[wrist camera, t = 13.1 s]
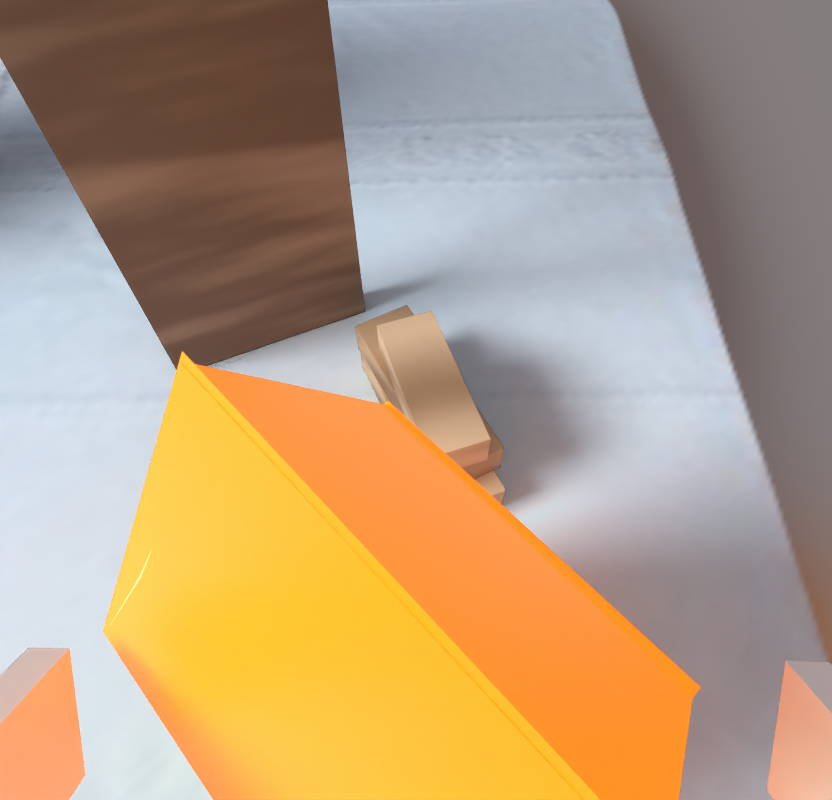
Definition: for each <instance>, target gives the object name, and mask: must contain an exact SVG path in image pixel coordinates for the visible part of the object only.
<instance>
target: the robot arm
mask: <svg viewBox="0 0 832 800" xmlns="http://www.w3.org/2000/svg"><path fill="white" fill-rule="evenodd" d="M84 776H85V769H84V761H83V753H82V745H81V737H80V729H79V721H78V713H77V705H76V697H75V690H74V682H73V674H72V666H71V658H70V650H69V648H28V649H27V650H26V651H25V652H24V653H23V654H22V655H21V656H20V657H19V658H18V659H17V660H15V661H14V662H13V663H12V664H11V665H10V666H9V667H8V668H7V669H6V670H5V671H4V672H3V673H2V674H1V675H0V800H69V799H70V797H71V796H72V794H73V793H74V791H75V790H76V788H77V786H78V785H79V783H80V782H81V780H82V779H83V777H84ZM767 790H768V792H769V793H770V795H771V797H772V798H773V800H832V665H831V664H830V663H829V662H826V661H785V668H784V675H783V682H782V689H781V695H780V702H779V709H778V716H777V723H776V730H775V736H774V743H773V750H772V757H771V764H770V771H769V777H768V784H767Z"/></svg>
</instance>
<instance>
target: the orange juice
mask: <svg viewBox="0 0 832 800" xmlns="http://www.w3.org/2000/svg"><path fill="white" fill-rule="evenodd" d="M103 632H104V634H105V635H106V637H107V638H108V640H109V641H110V643H111V644H112V646H113V647H114V649H115V650H116V652H117V653H118V655H119V656H120V658H121V660H122V661H123V663H124V664H125V666H126V667H127V669H128V670H129V672H130V673H131V675H132V676H133V678H134V679H135V681H136V682H137V684H138V685H139V687H140V688H141V690H142V692H143V693H144V695H145V696H146V698H147V699H148V701H149V702H150V704H151V705H152V707H153V708H154V710H155V711H156V713H157V714H158V716H159V717H160V719H161V721H162V722H163V724H164V725H165V727H166V728H167V730H168V731H169V733H170V734H171V736H172V737H173V739H174V740H175V742H176V743H177V745H178V746H179V748H180V750H181V751H182V753H183V754H184V756H185V757H186V759H187V760H188V762H189V763H190V765H191V766H192V768H193V769H194V771H195V772H196V774H197V775H198V777H199V779H200V780H201V782H202V783H203V785H204V786H205V788H206V789H207V791H208V792H209V794H210V795H211V797H212V798H213V800H679V792H680V785H681V778H682V771H683V764H684V756H685V749H686V742H687V735H688V728H689V720H690V713H691V706H692V699H693V697H694V695H695V694H696V693H697V691H698V690H699V689H700V688H701V687H700V686H699V685H698V684H697V683H696V682H695V681H694V680H692V679H691V678H690V677H689V676H688V675H687V674H686V673H685V672H684V671H683V670H682V669H680V668H679V667H678V666H677V665H676V664H675V663H674V662H673V661H672V660H671V659H669V658H668V657H667V656H666V655H665V654H664V653H663V652H662V651H661V650H660V649H659V648H657V647H656V646H655V645H654V644H653V643H652V642H651V641H650V640H649V639H648V638H647V637H645V636H644V635H643V634H642V633H641V632H640V631H639V630H638V629H637V628H636V627H635V626H633V625H632V624H631V623H630V622H629V621H628V620H627V619H626V618H625V617H624V616H623V615H621V614H620V613H619V612H618V611H617V610H616V609H615V608H614V607H613V606H612V605H611V604H609V603H608V602H607V601H606V600H605V599H604V598H603V597H602V596H601V595H600V594H599V593H597V592H596V591H595V590H594V589H593V588H592V587H591V586H590V585H589V584H588V583H586V582H585V581H584V580H583V579H582V578H581V577H580V576H579V575H578V574H577V573H576V572H574V571H573V570H572V569H571V568H570V567H569V566H568V565H567V564H566V563H565V562H564V561H562V560H561V559H560V558H559V557H558V556H557V555H556V554H555V553H554V552H553V551H552V550H550V549H549V548H548V547H547V546H546V545H545V544H544V543H543V542H542V541H541V540H540V539H538V538H537V537H536V536H535V535H534V534H533V533H532V532H531V531H530V530H529V529H528V528H526V527H525V526H524V525H523V524H522V523H521V522H520V521H519V520H518V519H517V518H516V517H514V516H513V515H512V514H511V513H510V512H509V511H508V510H507V509H506V508H505V507H503V506H502V505H501V504H500V503H499V502H498V501H497V500H496V499H495V498H494V497H493V496H491V495H490V494H489V493H488V492H487V491H486V490H485V489H484V488H483V487H482V486H481V485H479V484H478V483H477V482H476V481H475V480H474V479H473V478H472V477H471V476H470V475H469V474H467V473H466V472H465V471H464V470H463V469H462V468H461V467H460V466H459V465H458V464H457V463H455V462H454V461H453V460H452V459H451V458H450V457H449V456H448V455H447V454H446V453H445V452H443V451H442V450H441V449H440V448H439V447H438V446H437V445H436V444H435V443H434V442H433V441H431V440H430V439H429V438H428V437H427V436H426V435H425V434H424V433H423V432H422V431H420V430H419V429H418V428H417V427H416V426H415V425H414V424H413V423H412V422H411V421H410V420H408V419H407V418H406V417H405V416H404V415H403V414H402V413H401V412H400V411H399V410H398V409H396V408H395V407H394V406H393V405H392V404H391V403H390V402H389V401H387V402H386V403H385V404H379V403H374V402H370V401H365V400H360V399H356V398H351V397H346V396H342V395H337V394H332V393H328V392H323V391H318V390H314V389H309V388H304V387H300V386H295V385H290V384H286V383H281V382H276V381H272V380H267V379H262V378H258V377H253V376H248V375H244V374H239V373H234V372H230V371H225V370H220V369H216V368H211V367H206V366H202V365H197V364H194V363H193V362H192V361H191V360H190V359H189V358H188V357H187V356H186V355H185V354H184V352H183V351H182V354H181V357H180V361H179V364H178V368H177V371H176V375H175V378H174V382H173V386H172V389H171V393H170V396H169V400H168V403H167V407H166V410H165V414H164V417H163V421H162V424H161V428H160V432H159V435H158V439H157V442H156V446H155V449H154V453H153V456H152V460H151V463H150V467H149V470H148V474H147V478H146V481H145V485H144V488H143V492H142V495H141V499H140V502H139V506H138V509H137V513H136V516H135V520H134V524H133V527H132V531H131V534H130V538H129V541H128V545H127V548H126V552H125V555H124V559H123V562H122V566H121V570H120V573H119V577H118V580H117V584H116V587H115V591H114V594H113V598H112V601H111V605H110V608H109V612H108V616H107V619H106V623H105V626H104V630H103Z"/></svg>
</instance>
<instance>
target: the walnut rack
mask: <svg viewBox="0 0 832 800" xmlns="http://www.w3.org/2000/svg"><path fill="white" fill-rule="evenodd" d="M0 58H1V59H2V61H3V63H4V65H5V67H6V68H7V70H8V72H9V74H10V75H11V77H12V79H13V81H14V82H15V84H16V86H17V88H18V90H19V91H20V93H21V95H22V97H23V98H24V100H25V102H26V104H27V106H28V107H29V109H30V111H31V113H32V114H33V116H34V118H35V120H36V121H37V123H38V125H39V127H40V129H41V130H42V132H43V134H44V136H45V137H46V139H47V141H48V143H49V145H50V146H51V148H52V150H53V152H54V153H55V155H56V157H57V159H58V161H59V162H60V164H61V166H62V168H63V169H64V171H65V173H66V175H67V176H68V178H69V180H70V182H71V184H72V185H73V187H74V189H75V191H76V192H77V194H78V196H79V198H80V200H81V201H82V203H83V205H84V207H85V208H86V210H87V212H88V214H89V215H90V217H91V219H92V221H93V223H94V224H95V226H96V228H97V230H98V231H99V233H100V235H101V237H102V239H103V240H104V242H105V244H106V246H107V247H108V249H109V251H110V253H111V254H112V256H113V258H114V260H115V262H116V263H117V265H118V267H119V269H120V270H121V272H122V274H123V276H124V278H125V279H126V281H127V283H128V285H129V286H130V288H131V290H132V292H133V293H134V295H135V297H136V299H137V301H138V302H139V304H140V306H141V308H142V309H143V311H144V313H145V315H146V317H147V318H148V320H149V322H150V324H151V325H152V327H153V329H154V331H155V333H156V334H157V336H158V338H159V340H160V341H161V343H162V345H163V347H164V348H165V350H166V352H167V354H168V356H169V357H170V359H171V361H172V363H173V364H174V366H175V368H176V370H177V368H178V364H179V361H180V357H181V354H182V351H183V352H184V354H185V355H186V356H187V357H188V358H189V359H190V360H191V361H192V362H193V363H194V364H197V365H202V366H206V365H209V364H212V363H215V362H218V361H221V360H224V359H227V358H230V357H233V356H236V355H239V354H241V353H244V352H247V351H250V350H253V349H256V348H259V347H262V346H265V345H268V344H271V343H274V342H277V341H280V340H283V339H285V338H288V337H291V336H294V335H297V334H300V333H303V332H306V331H309V330H312V329H315V328H318V327H321V326H324V325H327V324H329V323H332V322H335V321H338V320H341V319H344V318H347V317H350V316H353V315H356V314H359V313H362V312H365V307H364V299H363V290H362V282H361V274H360V266H359V257H358V249H357V241H356V233H355V224H354V216H353V208H352V200H351V191H350V183H349V175H348V166H347V158H346V150H345V142H344V133H343V125H342V117H341V109H340V100H339V92H338V84H337V75H336V67H335V59H334V51H333V42H332V34H331V26H330V18H329V9H328V1H327V0H0ZM355 328H356V335H357V342H358V349H359V350H360V352H361V359H362V366H363V369H364V371H365V373H366V375H367V377H368V379H369V381H370V383H371V385H372V387H373V389H374V391H375V393H376V396H377V398H378V400H379V402H380V404H385V403H386V402H387V401H389V402H390V403H391V404H392V405H393V406H394V407H395V408H396V409H398V410H399V411H400V412H401V413H402V414H403V415H404V416H405V417H406V418H407V419H408V420H410V421H411V422H412V423H413V424H414V425H415V426H416V427H417V428H418V429H419V430H420V431H422V432H423V433H424V434H425V435H426V436H427V437H428V438H429V439H430V440H431V441H433V442H434V443H435V444H436V445H437V446H438V447H439V448H440V449H441V450H442V451H443V452H445V453H446V454H447V455H448V456H449V457H450V458H451V459H452V460H453V461H454V462H455V463H457V464H458V465H459V466H460V467H461V468H462V469H463V470H464V471H465V472H466V473H467V474H469V475H470V476H471V477H472V478H473V479H474V480H475V481H476V482H477V483H478V484H479V485H481V486H482V487H483V488H484V489H485V490H486V491H487V492H488V493H489V494H490V495H491V496H493V497H494V498H495V499H496V500H497V501H498V502H499V503H500V504H501V505H502V502H503V498H504V494H505V488H504V487H503V485H502V483H501V481H500V480H499V478H498V476H497V474H496V472H495V471H494V470H495V469H497V468H499V467H500V465H501V460H502V456H503V451H504V447H503V445H502V444H501V443H500V441H499V440H498V438H497V437H496V435H495V434H494V432H493V431H492V429H491V428H490V426H489V425H488V423H487V422H486V420H485V419H484V417H483V416H482V415H481V413H480V412H479V410H478V409H477V407H476V406H475V404H474V402H473V399H472V397H471V395H470V393H469V391H468V388H467V386H466V384H465V382H464V380H463V378H462V375H461V373H460V371H459V369H458V367H457V364H456V362H455V360H454V358H453V356H452V354H451V351H450V349H449V347H448V345H447V343H446V340H445V338H444V336H443V334H442V332H441V330H440V327H439V325H438V323H437V321H436V319H435V316H434V314H433V312H432V311H429V312H425V313H421V314H417V315H413V313H412V312H411V310H410V309H409V307H408V306H407V305H405V306H403V307H401V308H398V309H396V310H393V311H391V312H388V313H386V314H383V315H381V316H379V317H376V318H374V319H371V320H369V321H366V322H364V323H361V324H359V325H357V326H355Z"/></svg>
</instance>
